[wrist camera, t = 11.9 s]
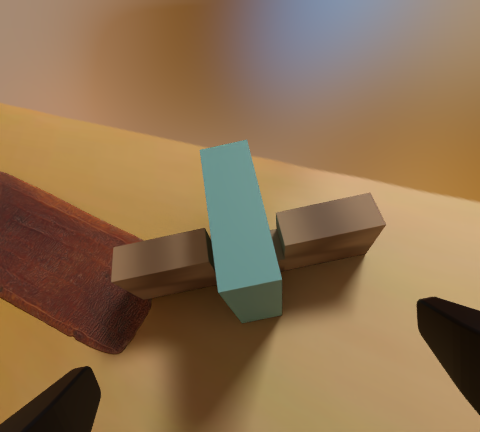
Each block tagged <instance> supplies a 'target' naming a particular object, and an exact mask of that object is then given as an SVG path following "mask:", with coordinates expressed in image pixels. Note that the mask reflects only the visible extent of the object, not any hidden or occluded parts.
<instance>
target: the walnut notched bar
mask: <svg viewBox="0 0 480 432" xmlns="http://www.w3.org/2000/svg"><path fill="white" fill-rule="evenodd" d="M385 225H386V223H385V221H384V219H383V217H382V215H381V213H380V211H379V209H378V207H377V205H376V203H375V201H374V199H373V197H372V195H371V193H366V194H361V195H357V196H352V197H347V198H343V199H338V200H333V201H329V202H324V203H319V204H314V205H310V206H305V207H300V208H296V209H291V210H286V211H282V212H277V213H276V227H277V229H275V230H270V233H271V237H272V241H273V245H274V249H275V253H276V257H277V261H278V265H279V269H280V272H281V271H285V270H290V269H295V268H300V267H305V266H310V265H314V264H319V263H324V262H329V261H334V260H339V259H343V258H348V257H353V256H358V255H363V254H366V253H367V251H368V250H369V248H370V247H371V246H372V244H373V243H374V241H375V240H376V238H377V237H378V236H379V234H380V233H381V231H382V230H383V228H384V227H385ZM111 282H112V283H113V284H115V285H117V286H119V287H121V288H123V289H125V290H126V291H128V292H130V293H132V294H134V295H136V296H138V297H139V298H141V299H150V298H155V297H160V296H165V295H170V294H174V293H179V292H184V291H189V290H194V289H199V288H203V287H208V286H213V285H217V280H216V272H215V264H214V256H213V249H212V241H211V239H210V237H209V235H208V233H207V231H206V230H205V228H202V229H197V230H193V231H188V232H183V233H178V234H174V235H169V236H164V237H160V238H155V239H150V240H146V241H141V242H136V243H132V244H127V245H122V246H117V247H113V261H112V276H111Z"/></svg>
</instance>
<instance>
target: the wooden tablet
mask: <svg viewBox="0 0 480 432" xmlns="http://www.w3.org/2000/svg"><path fill="white" fill-rule="evenodd" d="M141 241H143V240H142V239H140V238H138V237H136V236H134V235H132V234H130V233H128V232H125V231H123V230H121V229H119V228H117V227H115V226H113V225H111V224H108V223H107V222H105V221H103V220H100V219H98V218H96V217H94V216H92V215H90V214H88V213H86V212H84V211H82V210H80V209H78V208H77V207H75V206H73V205H71V204H69V203H67V202H65V201H63V200H61V199H59V198H57V197H55V196H53V195H52V194H50V193H48V192H45V191H43V190H41V189H39V188H37V187H35V186H33V185H30V184H28V183H26V182H24V181H22V180H20V179H18V178H16V177H14V176H11V175H9V174H7V173H4V172H0V297H2V298H4V299H5V300H7V301H8V302H10V303H12V304H13V305H15V306H17V307H19V308H21V309H22V310H24V311H26V312H28V313H29V314H31V315H33V316H35V317H37V318H38V319H40V320H42V321H44V322H45V323H47V324H48V325H50V326H52V327H54V328H56V329H58V330H59V331H61V332H63V333H65V334H66V335H68V336H75V338H76V340H78V341H80V342H83V343H84V344H86V345H88V346H90V347H93V348H95V349H97V350H100V351H104V352H107V353H112V354H116V353H120V352H122V351H123V350H124V349H125V347H126V345H127V344H128V343H129V342H130V341H131V339H132V338H133V337H134V335H135V333H136V331H137V329H138V328H139V327H140V325H141V324H142V323H143V321H144V319H145V317H146V316H147V314H148V312H149V310H150V308H151V300H152V298H150V299H141V298H139V297H138V296H136V295H134V294H132V293H130V292H128V291H126V290H125V289H123V288H121V287H119V286H117V285H115V284H113V283H112V282H111V276H112V261H113V247H117V246H122V245H127V244H132V243H136V242H141Z"/></svg>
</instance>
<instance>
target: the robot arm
mask: <svg viewBox="0 0 480 432" xmlns="http://www.w3.org/2000/svg"><path fill="white" fill-rule="evenodd" d="M417 322H418V329H419V332H420V334H421V336H422V337H423V339H424V340H425V341H426V343H427V344H428V346H429V347H430V349H431V350H432V352H433V353H434V354H435V356H436V357H437V359H438V360H439V362H440V363H441V365H442V366H443V368H444V369H445V370H446V372H447V373H448V375H449V376H450V378H451V379H452V381H453V382H454V383H455V385H456V386H457V388H458V389H459V390H460V392H461V393H462V394H463V395H464V397H465V398H466V399H467V400H468V402H469V403H470V404H471V405H472V407H473V408H474V409H475V410H476V411H477V413H478V414H479V415H480V311H479V310H475V309H472V308H469V307H466V306H463V305H459V304H456V303H453V302H450V301H447V300H443V299H440V298H437V297H428V298H423V299H419V300H418V301H417ZM100 398H101V391H100V387H99V385H98V382H97V380H96V378H95V375H94V373H93V371H92V369H91V368H90V367H88V366H85V367H80V368H75V369H73V370H71V371H70V372H68V373H67V374H66V375H64V376H63V377H62V378H61V379H59V380H58V381H57V382H55V383H54V384H53V385H51V386H50V387H49V388H47V389H46V390H45V391H43V392H42V393H41V394H40V395H38V396H37V397H36V398H34V399H33V400H32V401H30V402H29V403H28V404H26V405H25V406H24V407H22V408H21V409H20V410H19V411H17V412H16V413H15V414H13V415H12V416H11V417H9V418H8V419H7V420H5V421H4V422H3V423H1V424H0V432H91V430H92V426H93V423H94V419H95V416H96V412H97V409H98V405H99V402H100Z"/></svg>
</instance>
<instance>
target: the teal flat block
mask: <svg viewBox="0 0 480 432" xmlns="http://www.w3.org/2000/svg"><path fill="white" fill-rule="evenodd" d="M200 155H201V163H202V171H203V179H204V186H205V194H206V202H207V210H208V217H209V225H210V233H211V241H212V249H213V256H214V264H215V272H216V280H217V287H218V293H219V294H220V296H221V297H222V298H223V299H224V301H225V302H226V303H227V305H228V306H229V307H230V308H231V310H232V311H233V312H234V314H235V315H236V316H237V317H238V319H239V320H240V321H241V323H246V322H251V321H256V320H261V319H266V318H271V317H276V316H281V315H282V277H281V273H280V269H279V265H278V261H277V257H276V253H275V249H274V245H273V241H272V237H271V233H270V229H269V225H268V221H267V217H266V213H265V209H264V205H263V201H262V197H261V193H260V189H259V185H258V182H257V178H256V174H255V170H254V166H253V162H252V158H251V154H250V150H249V146H248V142H247V140H243V141H239V142H234V143H230V144H225V145H221V146H216V147H212V148H207V149H202V150H200Z"/></svg>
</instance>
